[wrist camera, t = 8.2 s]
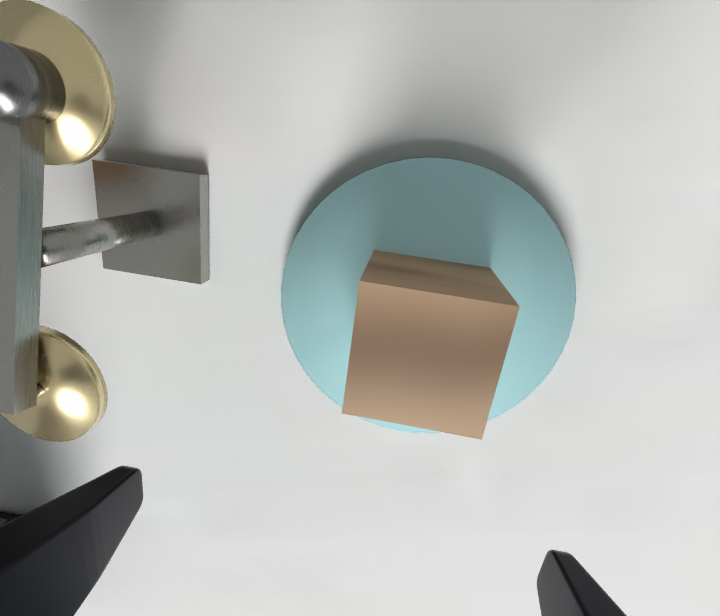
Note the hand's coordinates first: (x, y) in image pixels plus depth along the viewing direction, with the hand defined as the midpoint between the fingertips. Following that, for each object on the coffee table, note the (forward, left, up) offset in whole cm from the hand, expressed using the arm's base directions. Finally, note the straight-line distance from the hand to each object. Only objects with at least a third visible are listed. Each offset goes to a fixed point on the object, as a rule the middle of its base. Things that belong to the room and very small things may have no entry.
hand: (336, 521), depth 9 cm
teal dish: (+1, -2, -12) cm, 12 cm away
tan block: (+1, -2, -11) cm, 11 cm away
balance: (+3, +11, -12) cm, 16 cm away
